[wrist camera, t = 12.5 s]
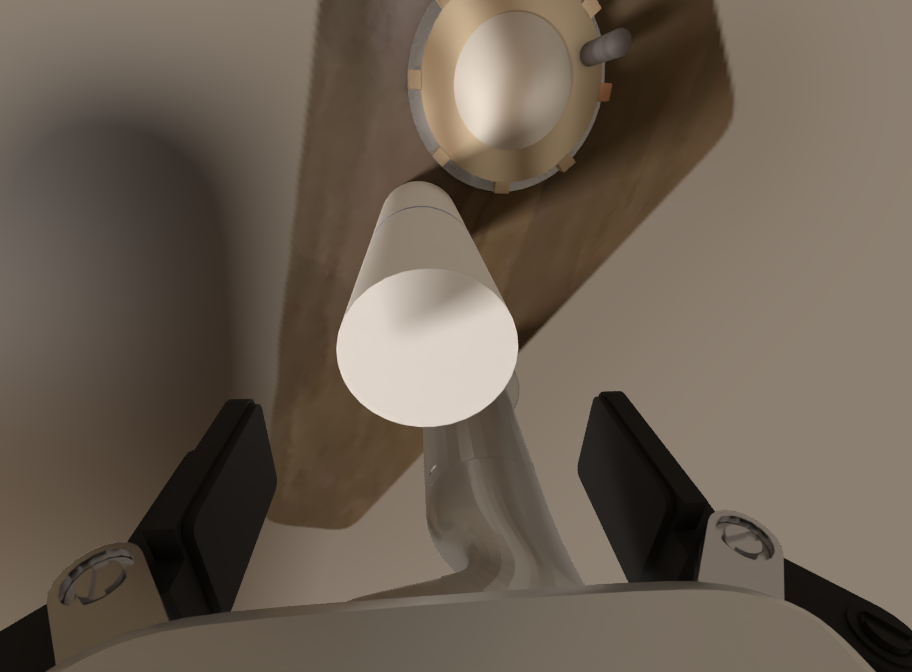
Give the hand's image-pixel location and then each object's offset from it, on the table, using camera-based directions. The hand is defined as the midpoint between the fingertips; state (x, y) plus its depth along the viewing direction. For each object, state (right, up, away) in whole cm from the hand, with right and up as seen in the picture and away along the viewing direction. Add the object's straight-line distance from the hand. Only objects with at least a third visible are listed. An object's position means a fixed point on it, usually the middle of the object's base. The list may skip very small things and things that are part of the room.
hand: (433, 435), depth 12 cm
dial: (+5, +23, +21) cm, 32 cm away
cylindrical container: (-3, +14, +27) cm, 30 cm away
